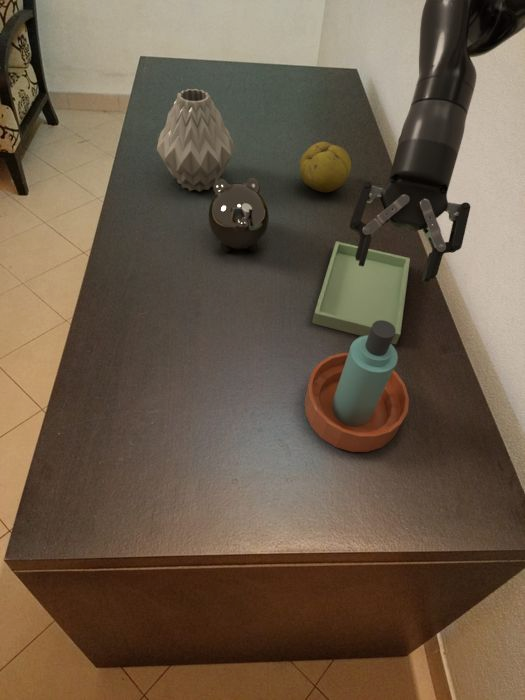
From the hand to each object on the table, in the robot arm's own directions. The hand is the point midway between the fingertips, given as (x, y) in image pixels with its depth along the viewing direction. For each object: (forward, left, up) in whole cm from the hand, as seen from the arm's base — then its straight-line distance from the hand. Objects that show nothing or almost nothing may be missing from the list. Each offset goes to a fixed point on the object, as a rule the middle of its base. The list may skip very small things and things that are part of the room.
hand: (393, 273), depth 61 cm
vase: (+43, -39, -19) cm, 61 cm away
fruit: (+16, -47, -19) cm, 53 cm away
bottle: (0, +10, -18) cm, 21 cm away
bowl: (0, +10, -18) cm, 21 cm away
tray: (+2, -15, -18) cm, 24 cm away
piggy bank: (+28, -22, -19) cm, 40 cm away
